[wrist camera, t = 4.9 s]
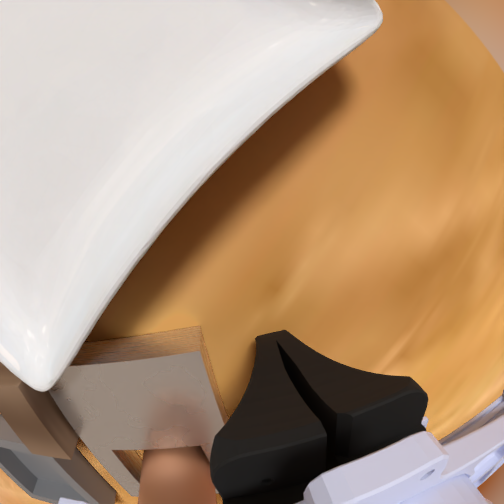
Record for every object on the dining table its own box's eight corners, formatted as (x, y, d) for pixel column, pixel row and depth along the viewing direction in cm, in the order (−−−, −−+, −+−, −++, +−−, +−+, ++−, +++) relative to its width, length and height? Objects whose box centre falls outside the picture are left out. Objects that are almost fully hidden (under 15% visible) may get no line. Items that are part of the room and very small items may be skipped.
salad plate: (361, 41, 10) (402, 13, 7) (67, 365, 12) (43, 407, 8) (100, -99, 4) (91, -125, 1) (-99, 140, 6) (-128, 141, 3)
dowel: (216, 460, 15) (228, 551, 8) (156, 463, 14) (152, 551, 8) (204, 423, 14) (213, 532, 7) (136, 426, 13) (121, 529, 7)
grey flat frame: (245, 465, 15) (249, 488, 14) (134, 475, 15) (131, 496, 13) (199, 325, 12) (199, 350, 10) (51, 346, 11) (35, 367, 10)
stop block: (86, 416, 13) (71, 459, 9) (49, 415, 12) (32, 453, 9) (47, 346, 11) (17, 386, 8) (11, 348, 11) (-19, 383, 8)
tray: (116, 491, 15) (113, 514, 13) (38, 479, 14) (31, 497, 12) (56, 420, 13) (44, 447, 10) (-20, 410, 12) (-33, 429, 9)
